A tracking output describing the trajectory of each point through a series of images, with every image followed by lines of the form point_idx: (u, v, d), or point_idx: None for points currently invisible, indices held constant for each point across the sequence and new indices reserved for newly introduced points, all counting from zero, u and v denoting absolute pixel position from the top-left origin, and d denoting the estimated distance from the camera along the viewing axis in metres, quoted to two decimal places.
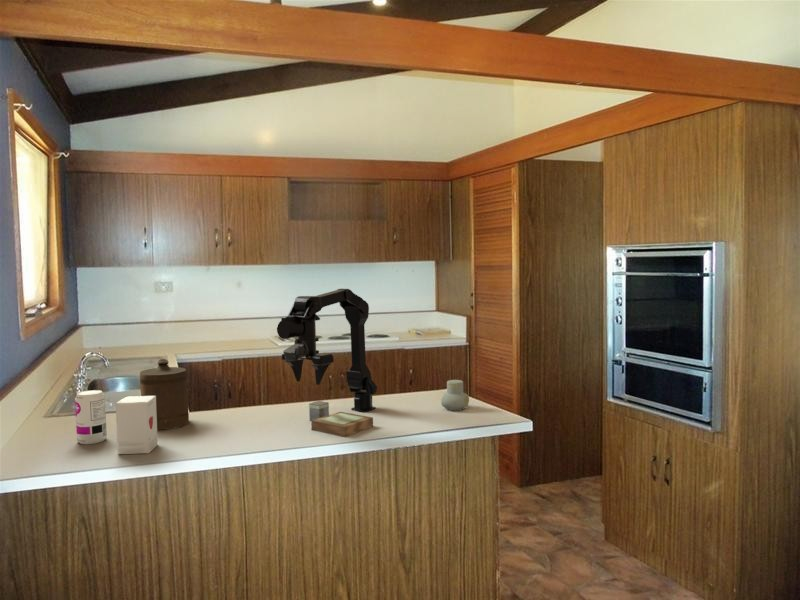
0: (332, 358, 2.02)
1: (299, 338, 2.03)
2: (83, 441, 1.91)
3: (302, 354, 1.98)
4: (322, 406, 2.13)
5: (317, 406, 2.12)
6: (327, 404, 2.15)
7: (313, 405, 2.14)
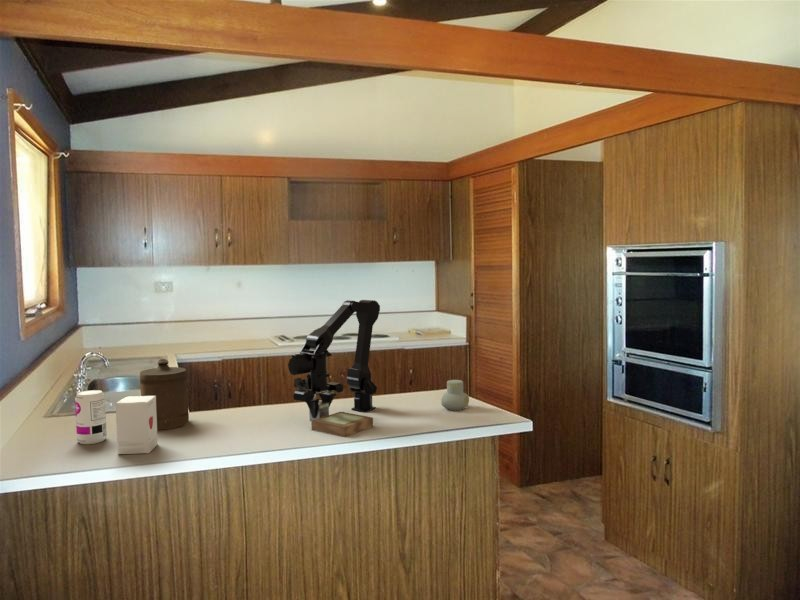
0: (303, 397, 2.06)
1: None
2: (83, 441, 1.91)
3: (296, 385, 2.15)
4: (322, 406, 2.13)
5: None
6: (327, 404, 2.15)
7: None
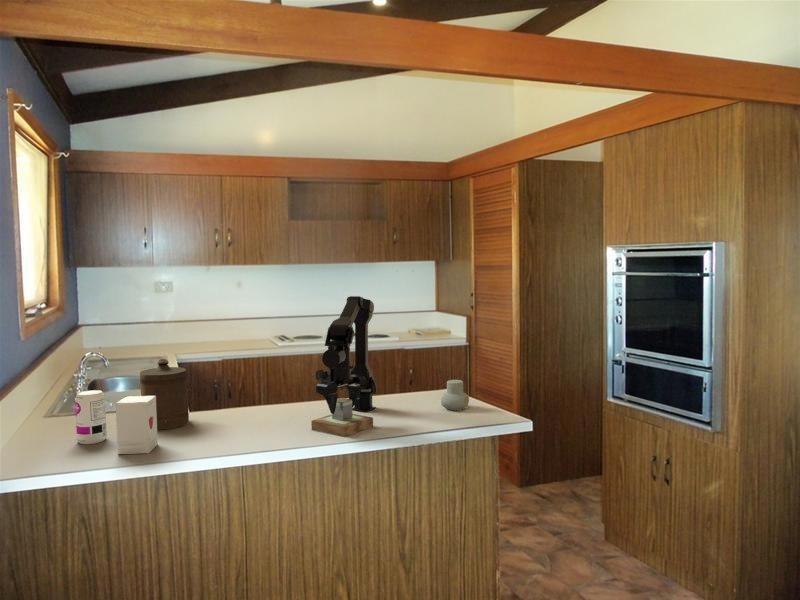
0: (327, 390, 1.96)
1: None
2: (83, 441, 1.91)
3: (318, 378, 2.04)
4: (345, 403, 2.03)
5: (340, 403, 2.02)
6: (351, 401, 2.05)
7: None
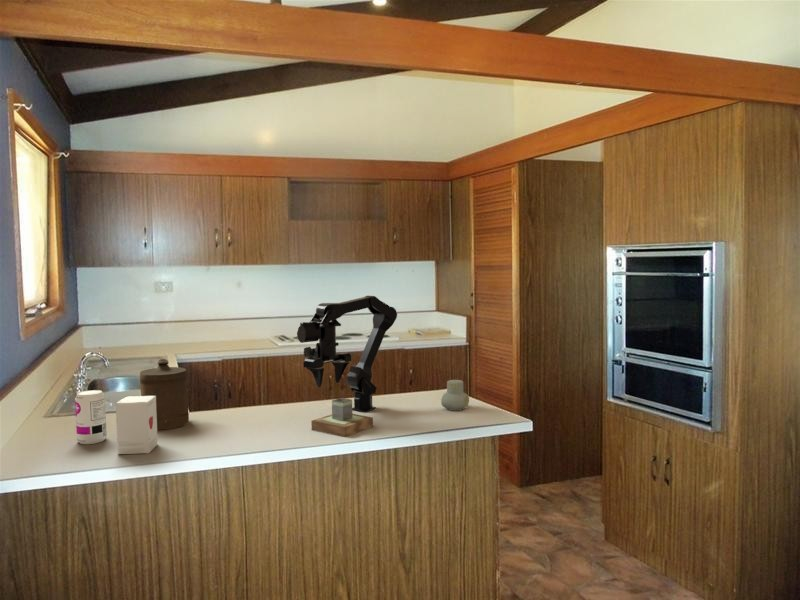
0: (313, 364, 2.11)
1: None
2: (83, 441, 1.91)
3: (306, 354, 2.19)
4: (345, 403, 2.03)
5: (340, 403, 2.02)
6: (351, 401, 2.05)
7: (336, 402, 2.03)
